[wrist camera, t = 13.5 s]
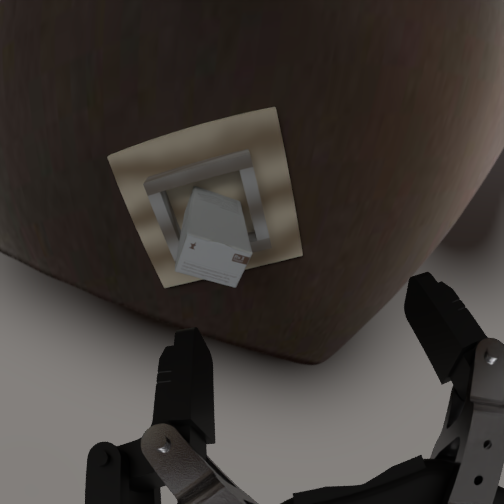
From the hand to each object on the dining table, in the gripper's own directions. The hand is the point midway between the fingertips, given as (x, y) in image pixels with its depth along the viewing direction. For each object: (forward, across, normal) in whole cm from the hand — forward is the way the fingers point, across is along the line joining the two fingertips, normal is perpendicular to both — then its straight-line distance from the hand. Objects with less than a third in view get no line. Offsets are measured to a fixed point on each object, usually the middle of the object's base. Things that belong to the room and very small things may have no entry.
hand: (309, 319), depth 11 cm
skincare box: (+26, +6, +7) cm, 28 cm away
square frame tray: (+27, +6, +7) cm, 28 cm away
